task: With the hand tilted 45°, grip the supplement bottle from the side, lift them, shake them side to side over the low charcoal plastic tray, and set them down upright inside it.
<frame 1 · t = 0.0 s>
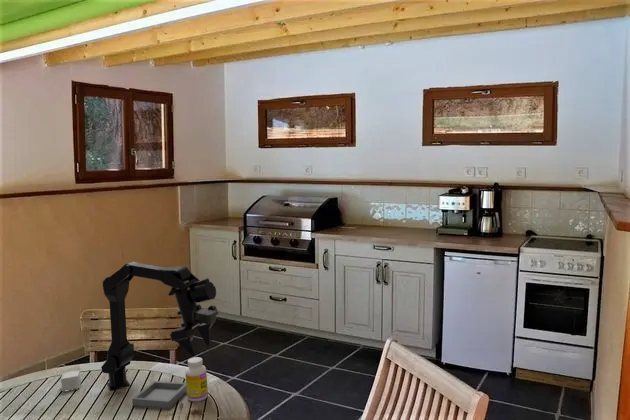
hand: (201, 350, 171), 15 cm above the table, tool pointing down, fingers open, 9 cm apart
supplement bottle: (198, 398, 172), on the table
tray: (161, 398, 173), on the table
small box: (71, 388, 184), on the table
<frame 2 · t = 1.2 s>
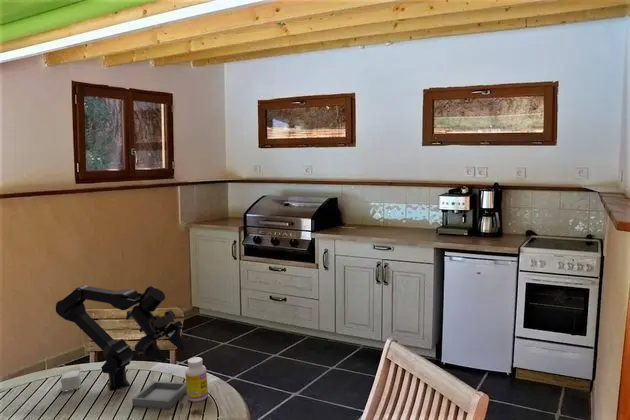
hand: (175, 355, 173), 13 cm above the table, tool tilted 45°, fingers open, 9 cm apart
nothing on the table moved.
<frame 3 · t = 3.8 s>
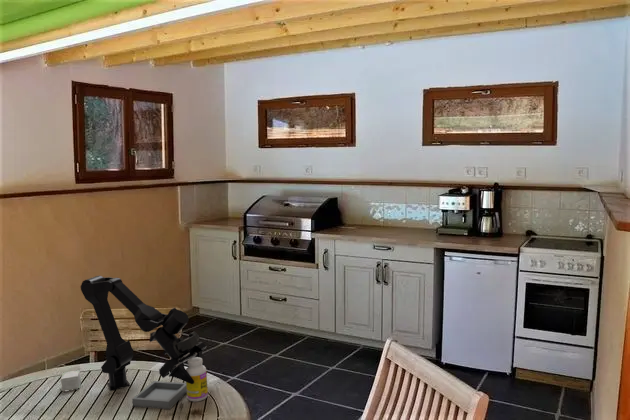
hand: (199, 378, 170), 7 cm above the table, tool tilted 45°, fingers closed on supplement bottle, 7 cm apart
supplement bottle: (198, 398, 172), on the table, touching gripper
everything else where it was.
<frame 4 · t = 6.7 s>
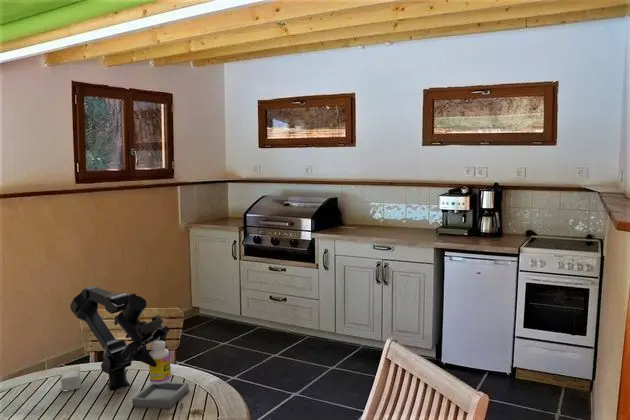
hand: (162, 361, 171), 12 cm above the table, tool tilted 45°, fingers closed on supplement bottle, 7 cm apart
supplement bottle: (161, 381, 172), point 6 cm above the table, touching gripper
everything else where it was.
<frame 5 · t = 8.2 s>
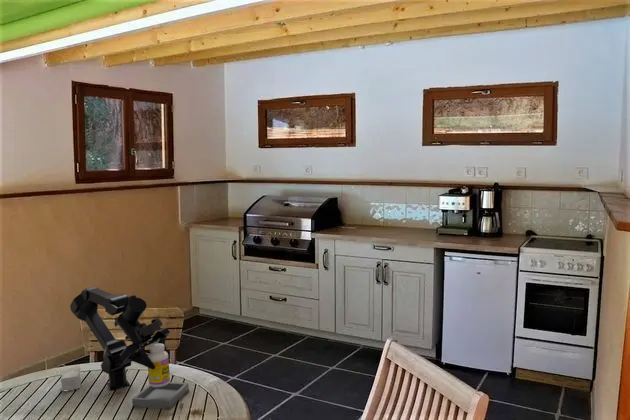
hand: (161, 364, 171), 12 cm above the table, tool tilted 45°, fingers closed on supplement bottle, 7 cm apart
supplement bottle: (159, 384, 172), point 5 cm above the table, touching gripper
everything else where it was.
when the fingers open (8 cm above the table, at t = 9.5 s): supplement bottle stays where it is, resting on tray.
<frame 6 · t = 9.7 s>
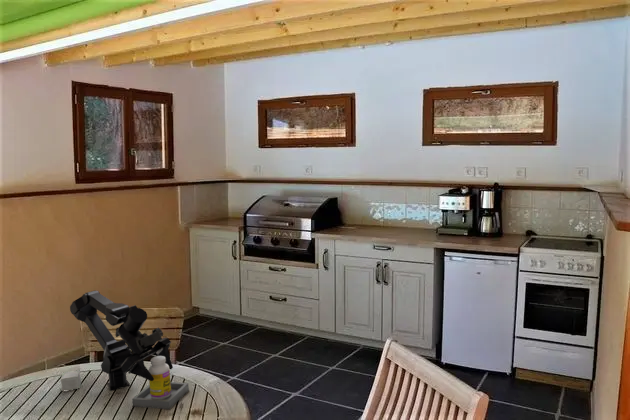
hand: (162, 374, 171), 8 cm above the table, tool tilted 45°, fingers open, 9 cm apart
supplement bottle: (161, 396, 173), resting on tray
everything else where it was.
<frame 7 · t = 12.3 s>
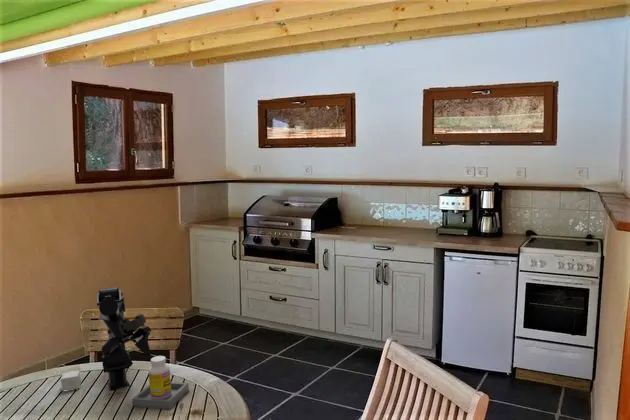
hand: (141, 360, 173), 12 cm above the table, tool tilted 40°, fingers open, 9 cm apart
nothing on the table moved.
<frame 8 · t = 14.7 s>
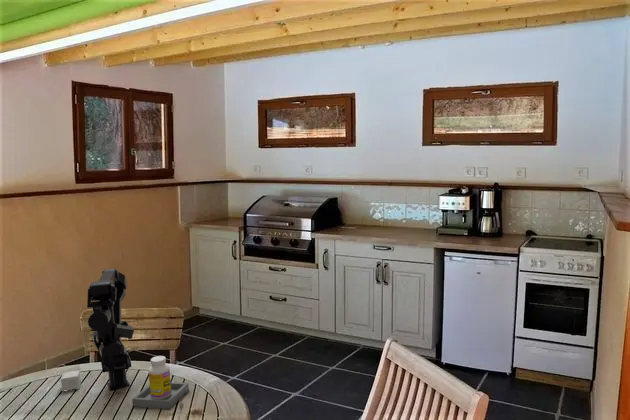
hand: (109, 367, 170), 12 cm above the table, tool pointing down, fingers open, 9 cm apart
nothing on the table moved.
at the end: supplement bottle inside the target area on the tray (0.2 cm from its centre), point 0.4 cm above the tray's base; supplement bottle tilted 0°; the gripper is holding nothing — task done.
